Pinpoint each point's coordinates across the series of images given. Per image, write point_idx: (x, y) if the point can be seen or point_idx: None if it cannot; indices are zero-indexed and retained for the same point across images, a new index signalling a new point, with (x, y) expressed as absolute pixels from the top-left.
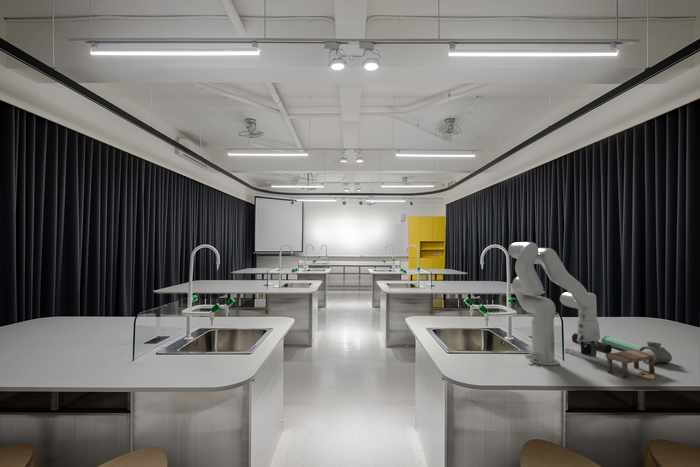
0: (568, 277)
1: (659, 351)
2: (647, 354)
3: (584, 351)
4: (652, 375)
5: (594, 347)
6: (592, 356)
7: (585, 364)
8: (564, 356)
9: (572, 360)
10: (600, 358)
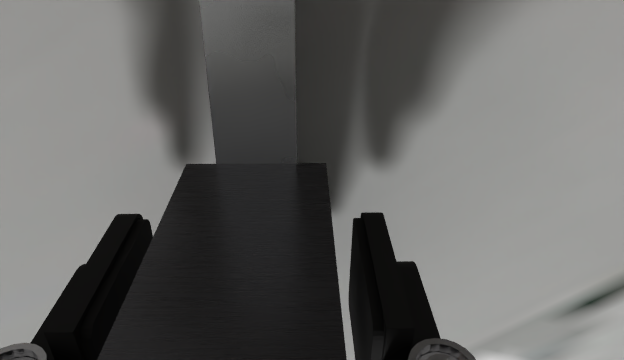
0: None
1: None
2: None
3: (419, 281)
4: None
5: (196, 282)
6: (294, 166)
7: (573, 65)
8: None
9: (539, 241)
10: (243, 41)
